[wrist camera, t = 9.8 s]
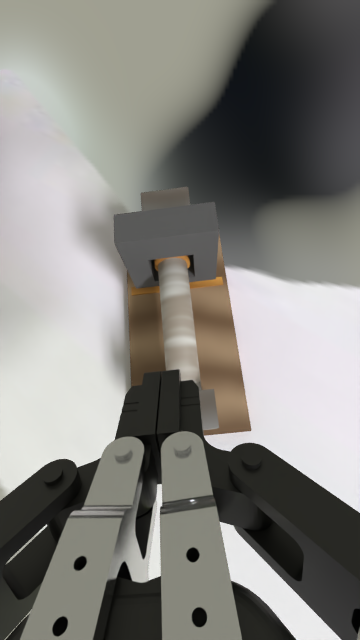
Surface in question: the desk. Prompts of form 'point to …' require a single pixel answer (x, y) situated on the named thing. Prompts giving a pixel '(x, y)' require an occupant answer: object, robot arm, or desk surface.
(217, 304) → the pipe stand
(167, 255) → the gray notched block
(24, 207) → the desk surface
